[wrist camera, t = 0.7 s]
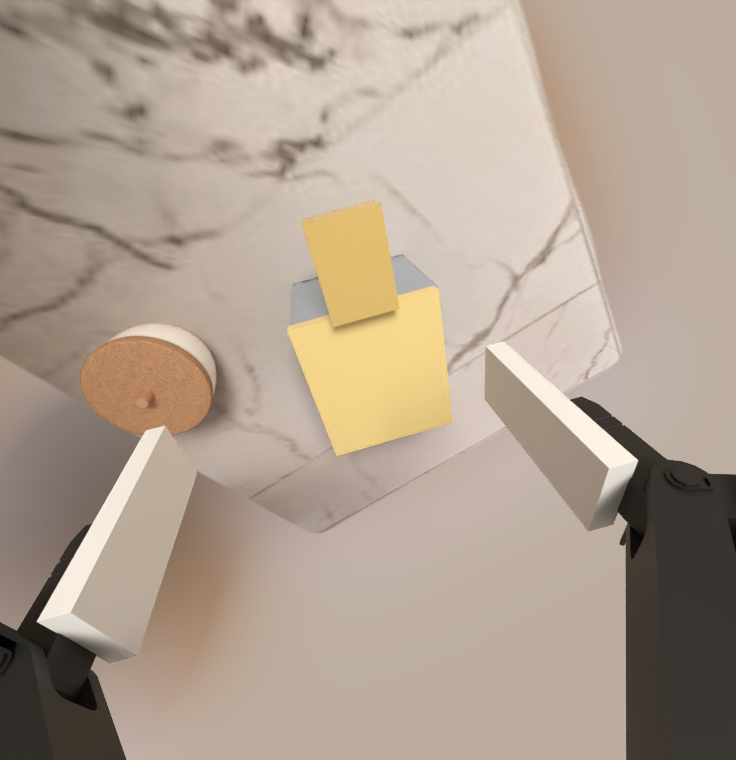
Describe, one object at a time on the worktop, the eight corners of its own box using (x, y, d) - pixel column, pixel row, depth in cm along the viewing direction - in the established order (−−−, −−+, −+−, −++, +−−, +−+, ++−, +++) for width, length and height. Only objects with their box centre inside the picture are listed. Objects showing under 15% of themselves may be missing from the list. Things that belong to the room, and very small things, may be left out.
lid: (251, 233, 23) (246, 240, 21) (423, 186, 23) (435, 188, 21) (335, 449, 34) (337, 467, 32) (448, 416, 35) (458, 432, 33)
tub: (293, 284, 36) (290, 325, 27) (402, 254, 36) (437, 285, 27) (329, 388, 44) (337, 448, 34) (419, 363, 44) (450, 416, 35)
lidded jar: (240, 334, 38) (224, 379, 30) (208, 405, 42) (187, 460, 34) (131, 289, 33) (81, 327, 26) (108, 373, 38) (58, 428, 30)
